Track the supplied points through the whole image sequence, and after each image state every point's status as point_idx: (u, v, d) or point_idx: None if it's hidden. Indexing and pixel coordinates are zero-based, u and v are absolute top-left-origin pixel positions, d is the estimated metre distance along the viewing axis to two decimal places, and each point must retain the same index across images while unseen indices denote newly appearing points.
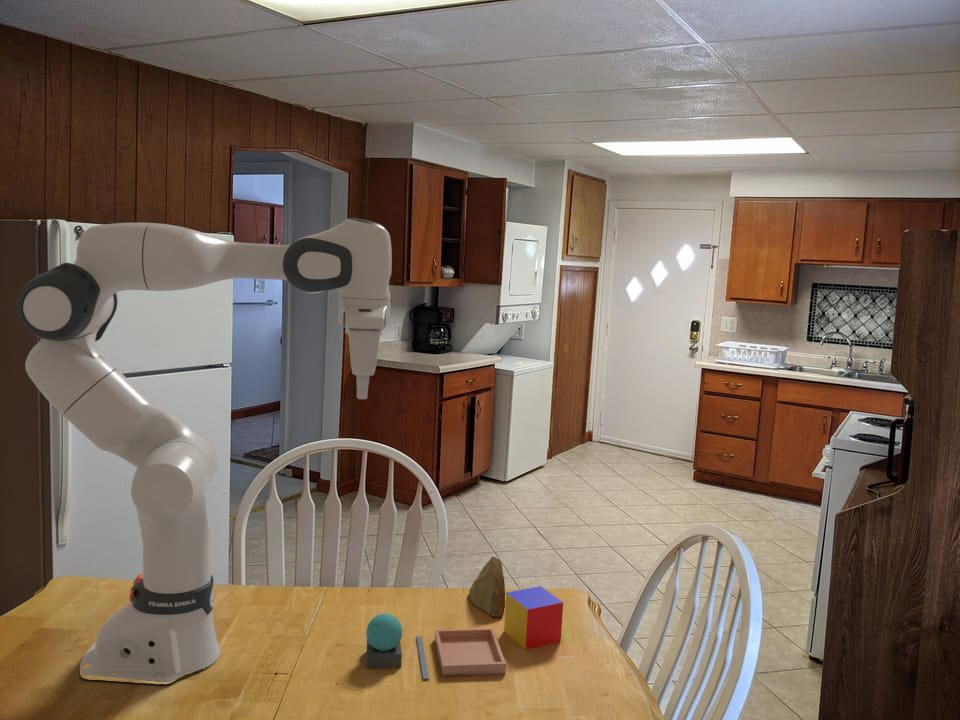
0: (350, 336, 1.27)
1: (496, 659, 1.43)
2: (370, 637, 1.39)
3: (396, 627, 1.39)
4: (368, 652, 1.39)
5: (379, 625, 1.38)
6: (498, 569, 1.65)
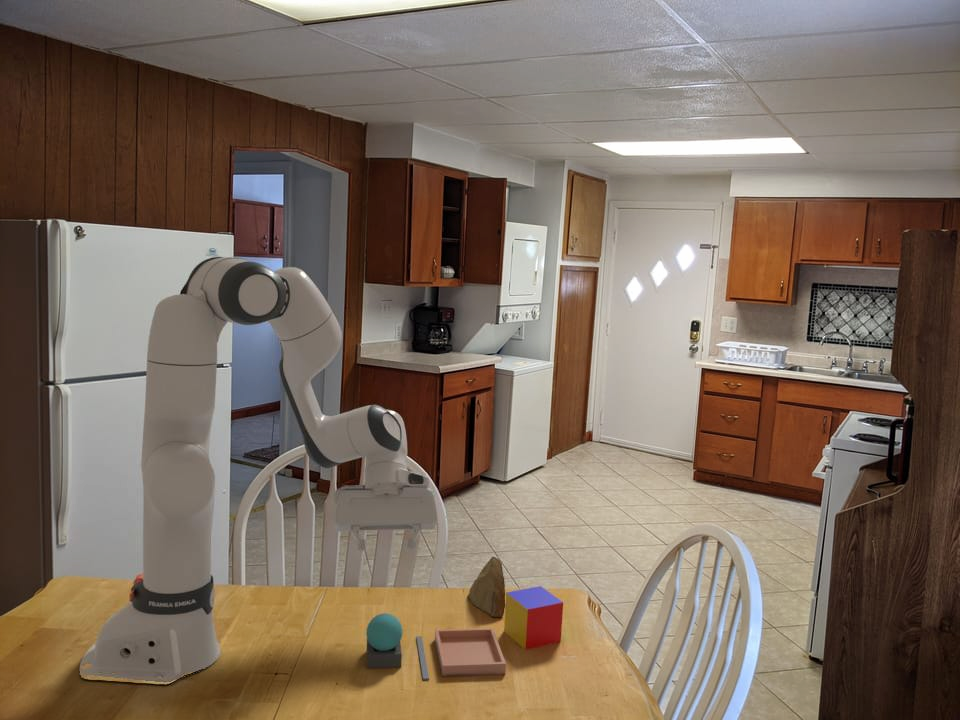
0: (432, 492, 1.57)
1: (496, 659, 1.43)
2: (370, 637, 1.39)
3: (396, 627, 1.39)
4: (368, 652, 1.39)
5: (379, 625, 1.38)
6: (499, 569, 1.65)
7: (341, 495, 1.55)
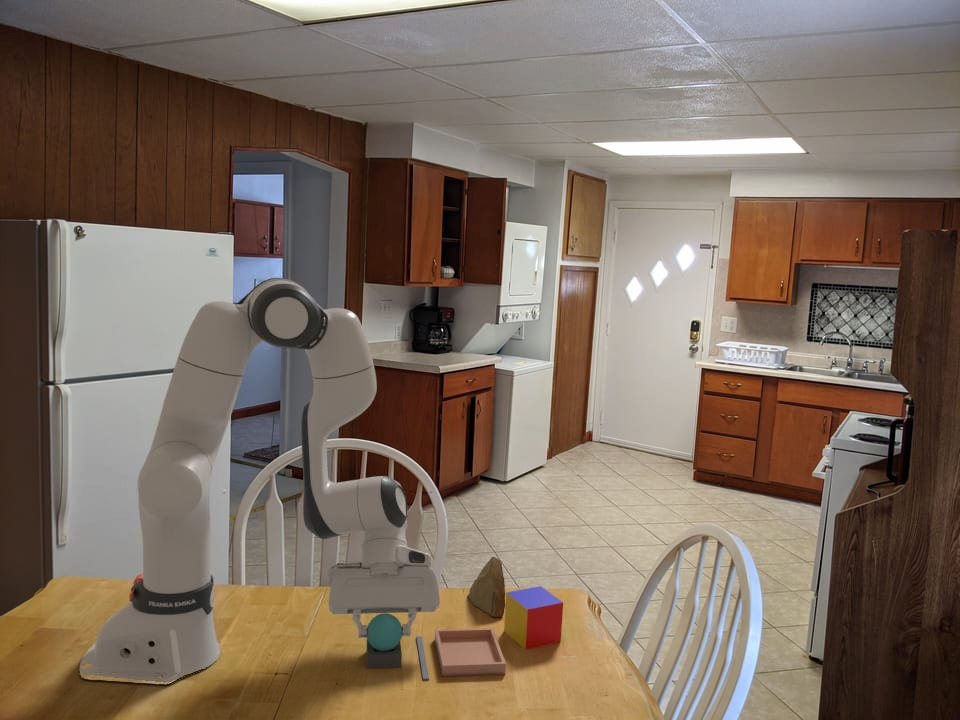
0: None
1: (496, 659, 1.43)
2: (370, 637, 1.38)
3: (396, 627, 1.39)
4: (368, 652, 1.39)
5: (379, 626, 1.38)
6: (499, 569, 1.65)
7: (336, 575, 1.44)
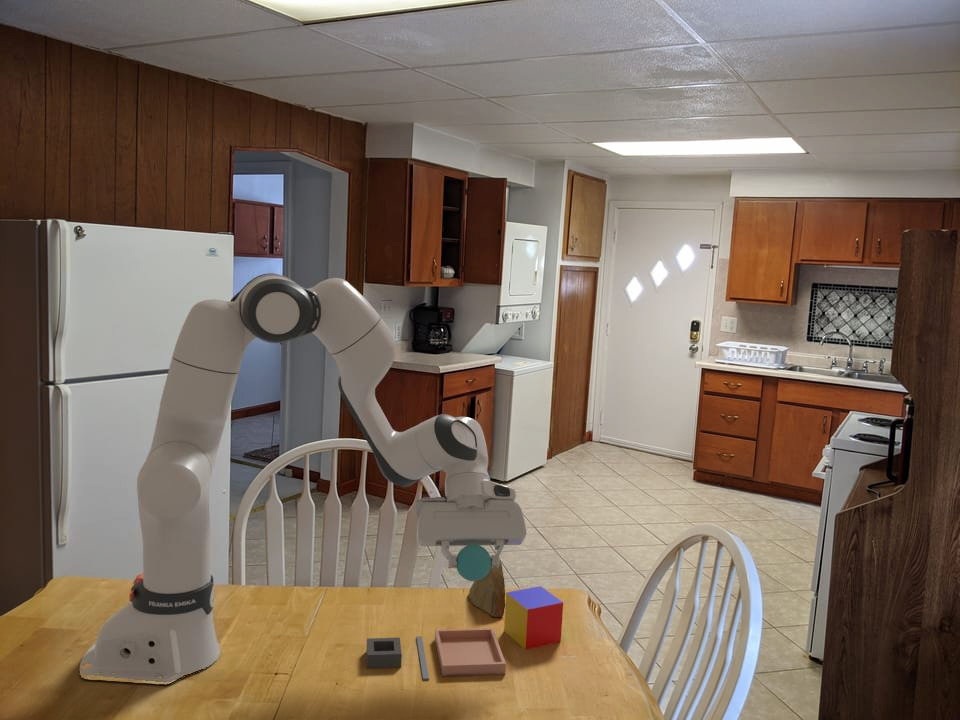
0: (519, 505, 1.47)
1: (496, 659, 1.43)
2: (460, 567, 1.39)
3: (486, 557, 1.40)
4: (368, 652, 1.39)
5: (469, 555, 1.39)
6: (498, 569, 1.65)
7: (423, 507, 1.45)
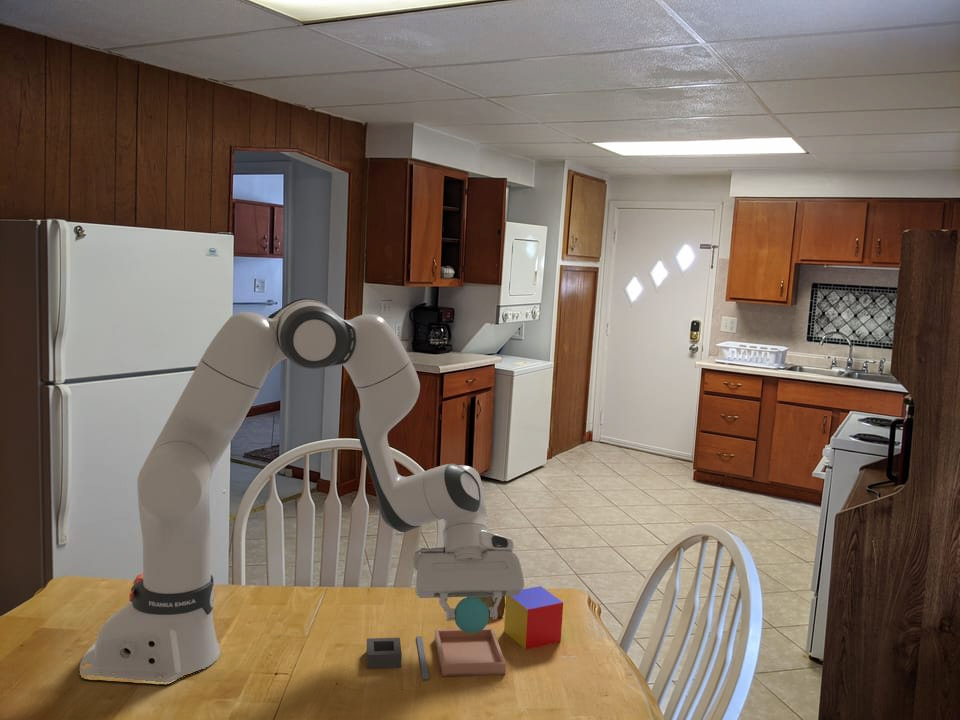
0: (516, 556, 1.49)
1: (496, 659, 1.43)
2: (459, 620, 1.41)
3: (484, 610, 1.41)
4: (368, 652, 1.39)
5: (467, 608, 1.40)
6: None
7: (422, 559, 1.46)
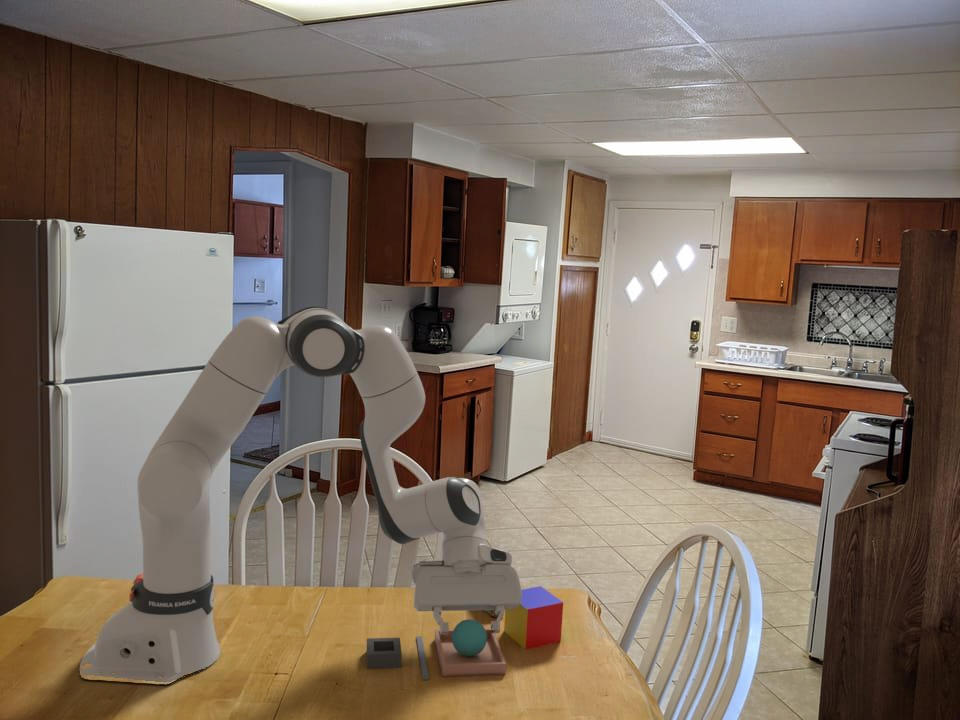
0: None
1: (496, 659, 1.43)
2: (456, 643, 1.41)
3: (482, 633, 1.42)
4: (368, 652, 1.39)
5: (465, 631, 1.41)
6: None
7: (421, 572, 1.46)
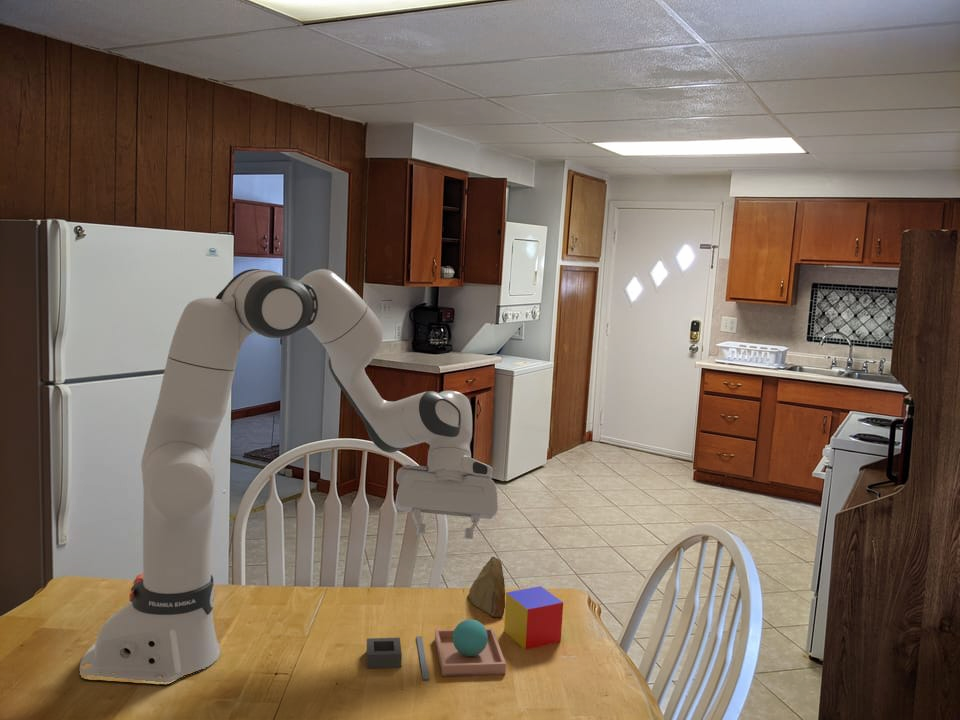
0: (494, 483, 1.57)
1: (496, 659, 1.43)
2: (457, 642, 1.41)
3: (483, 633, 1.42)
4: (368, 652, 1.39)
5: (467, 631, 1.41)
6: (498, 569, 1.65)
7: (405, 476, 1.55)
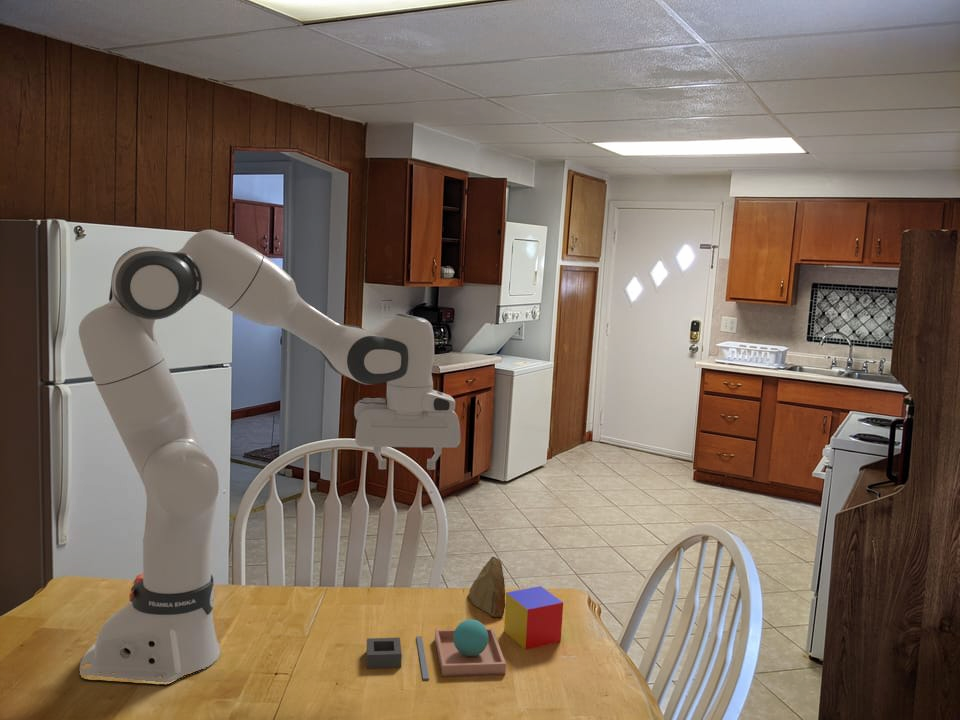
0: (457, 416, 1.50)
1: (496, 659, 1.43)
2: (458, 642, 1.41)
3: (484, 634, 1.42)
4: (368, 652, 1.39)
5: (468, 631, 1.41)
6: (498, 569, 1.65)
7: (362, 415, 1.48)
